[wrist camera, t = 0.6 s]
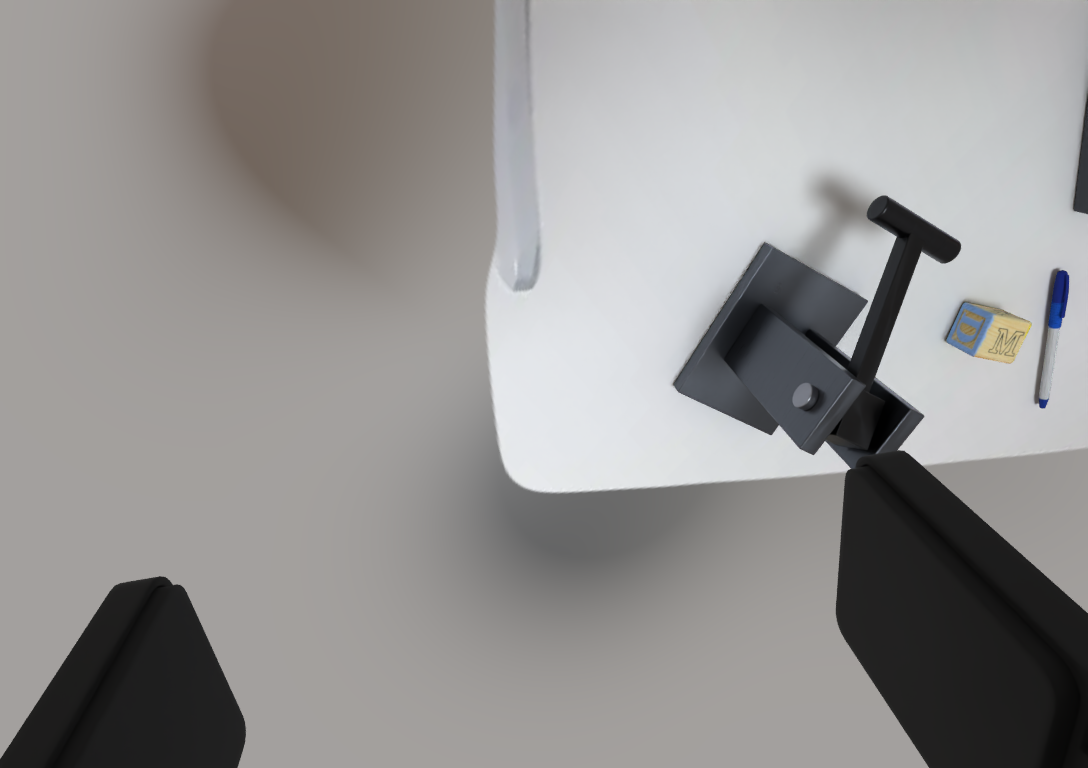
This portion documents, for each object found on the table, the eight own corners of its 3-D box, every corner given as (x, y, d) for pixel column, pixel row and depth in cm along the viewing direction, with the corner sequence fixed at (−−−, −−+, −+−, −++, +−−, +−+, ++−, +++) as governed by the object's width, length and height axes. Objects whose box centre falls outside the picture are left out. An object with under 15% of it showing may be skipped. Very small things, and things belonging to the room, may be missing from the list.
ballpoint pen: (1050, 271, 47) (1062, 275, 46) (1063, 268, 47) (1075, 272, 46) (1035, 405, 52) (1045, 412, 51) (1046, 403, 52) (1057, 409, 51)
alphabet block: (963, 299, 48) (994, 314, 45) (1002, 308, 48) (1035, 323, 46) (943, 341, 49) (972, 358, 46) (981, 348, 50) (1012, 365, 47)
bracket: (764, 242, 44) (871, 307, 33) (859, 295, 47) (989, 374, 35) (673, 384, 48) (739, 488, 37) (764, 427, 50) (855, 538, 39)
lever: (865, 199, 39) (898, 190, 37) (936, 243, 40) (973, 237, 38) (781, 419, 38) (811, 423, 35) (858, 455, 39) (891, 462, 37)
